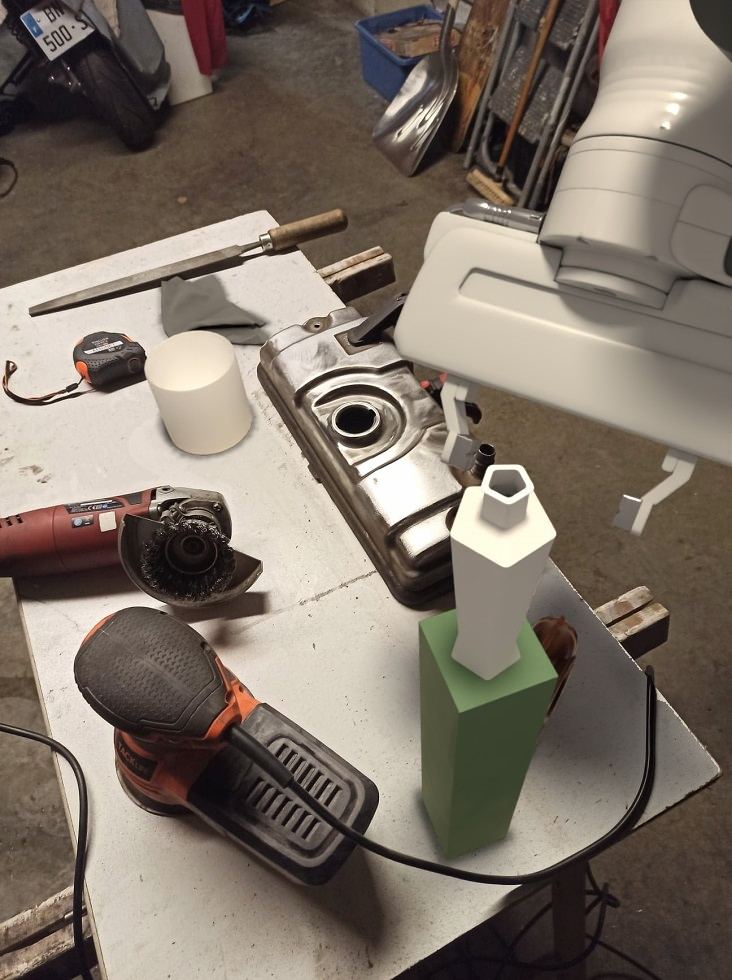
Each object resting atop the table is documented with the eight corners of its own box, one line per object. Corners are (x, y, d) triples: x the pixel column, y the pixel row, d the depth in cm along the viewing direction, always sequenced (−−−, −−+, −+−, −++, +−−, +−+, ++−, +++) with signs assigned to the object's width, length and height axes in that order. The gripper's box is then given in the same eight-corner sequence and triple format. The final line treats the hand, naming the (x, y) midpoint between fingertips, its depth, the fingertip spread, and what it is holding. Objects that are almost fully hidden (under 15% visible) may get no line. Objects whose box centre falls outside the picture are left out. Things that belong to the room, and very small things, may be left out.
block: (506, 836, 68) (559, 676, 41) (446, 861, 67) (459, 713, 40) (479, 774, 72) (510, 588, 45) (421, 796, 71) (418, 621, 44)
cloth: (132, 296, 124) (128, 285, 122) (204, 264, 128) (201, 252, 127) (205, 379, 110) (202, 367, 108) (283, 339, 114) (281, 327, 113)
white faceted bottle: (517, 696, 40) (553, 540, 29) (439, 672, 42) (444, 513, 30) (535, 624, 43) (575, 455, 31) (462, 603, 44) (474, 433, 32)
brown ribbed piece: (523, 771, 72) (542, 711, 60) (479, 745, 74) (488, 682, 62) (569, 681, 77) (594, 610, 65) (527, 659, 79) (544, 586, 67)
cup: (172, 400, 108) (147, 335, 98) (251, 390, 108) (235, 325, 98) (166, 460, 100) (140, 396, 91) (252, 450, 100) (234, 385, 91)
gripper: (424, 169, 37) (342, 431, 40) (878, 272, 30) (741, 584, 32) (459, 207, 43) (385, 433, 45) (846, 300, 36) (732, 563, 38)
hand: (536, 497), depth 39 cm, fingers open, 8 cm apart
